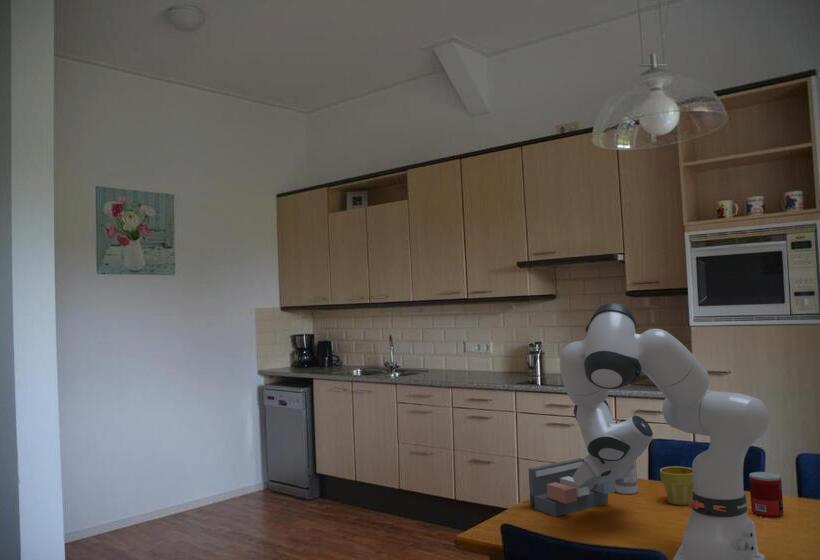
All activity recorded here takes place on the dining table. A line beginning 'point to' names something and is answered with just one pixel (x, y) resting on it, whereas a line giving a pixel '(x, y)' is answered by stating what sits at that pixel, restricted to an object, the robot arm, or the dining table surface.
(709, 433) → the robot arm
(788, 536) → the dining table surface
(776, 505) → the canned food
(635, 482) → the bath foam
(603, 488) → the slate-blue key
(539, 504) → the console
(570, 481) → the ivory key
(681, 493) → the plant pot
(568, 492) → the terracotta key
